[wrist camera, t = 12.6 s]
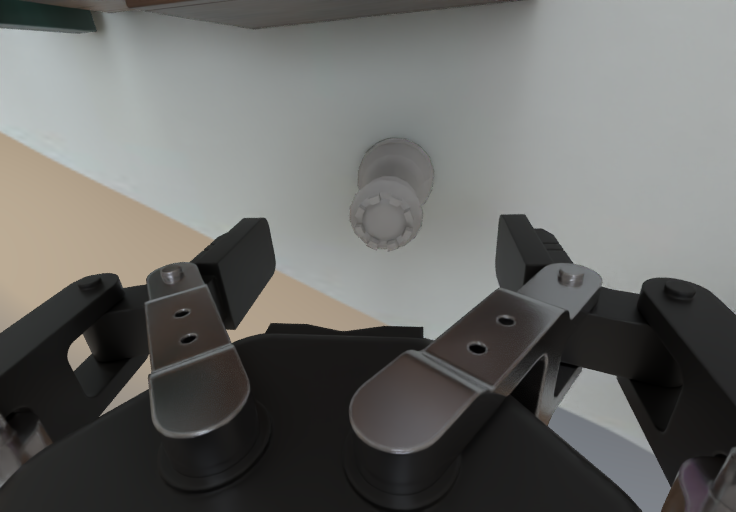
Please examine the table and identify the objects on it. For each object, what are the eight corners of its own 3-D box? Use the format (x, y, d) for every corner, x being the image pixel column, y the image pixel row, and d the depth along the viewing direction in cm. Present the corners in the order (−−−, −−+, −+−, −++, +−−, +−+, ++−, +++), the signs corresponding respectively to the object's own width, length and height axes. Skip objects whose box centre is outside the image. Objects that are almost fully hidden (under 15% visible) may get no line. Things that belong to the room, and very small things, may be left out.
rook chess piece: (430, 130, 22) (431, 164, 15) (437, 205, 24) (442, 266, 17) (353, 142, 23) (321, 179, 16) (366, 213, 25) (342, 275, 18)
